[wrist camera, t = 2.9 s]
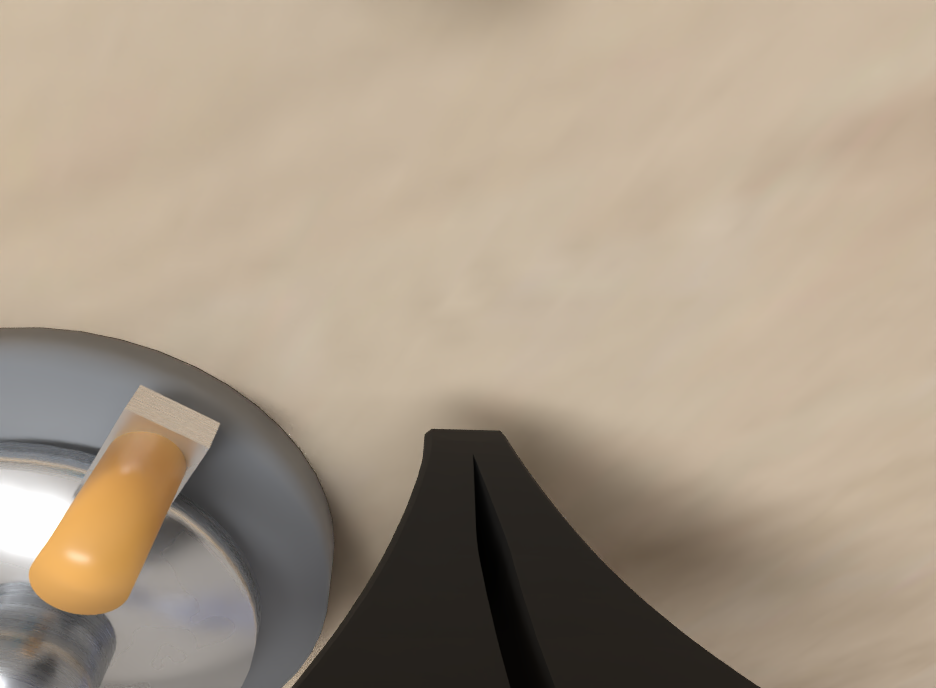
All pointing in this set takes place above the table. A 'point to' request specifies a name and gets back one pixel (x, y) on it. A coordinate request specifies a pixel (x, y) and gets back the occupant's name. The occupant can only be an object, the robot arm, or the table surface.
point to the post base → (213, 481)
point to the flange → (121, 562)
